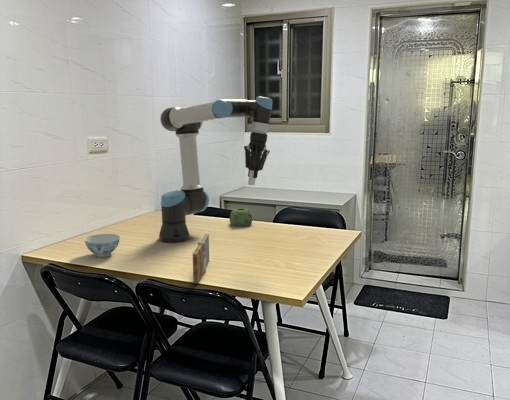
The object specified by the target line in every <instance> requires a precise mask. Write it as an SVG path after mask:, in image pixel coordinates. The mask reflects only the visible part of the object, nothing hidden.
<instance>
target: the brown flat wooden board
mask: <svg viewBox="0 0 510 400" xmlns="http://www.w3.org/2000/svg"><path fill="white" fill-rule="evenodd" d="M205 257H206V243H205V242H201V241H199V242H197V247H196V248H195V249H194V251H193V252H192V275H193V278H192V279H193V281H192V282H193V284H194V285H195V284H196V285H197V284H199V282H200V280H201V278H202V277H203V274H205V273H204V268H203V258H205Z"/></svg>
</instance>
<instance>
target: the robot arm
mask: <svg viewBox="0 0 510 400" xmlns="http://www.w3.org/2000/svg"><path fill="white" fill-rule="evenodd" d="M272 111H273V99H272V98H269V97H266V96H256V98H255V100H251V99H250V100H248V99H244V98H237V99H226V98H224V99H222V98H220V99H217V100H215V101H212V102H207V103H202V104H201V103H200V104H197V105H192V106H187V107H186V106H185V107H184V106H183V107H182V106H181V107H173V106H172V107H167V108H165V109H164V110H163V111H162V112H161V114H160V118H159V119H160V120H159V121H160V125H162V127H163V128H164V130H166V131H168V132H169V131H170V132H175V136H176V137H177V138H178V141H179V143H178V144H179V150H180V154H179V155H180V163H181V172H182V174H181V175H182V186H181V187H180V190H174V191H173V190H171V191H167V192H165V193H163V194H162V195H161V198H160V199H161V201H160V206H161V227H160V230H159V234H158V240H159V241H160V242H164V243H180V242H185V241H188V240H189V239H190V235H191V234H190V232H189V229H188V226H187V223H186V220H187V219H186V218H187V216H189V215H194V214H199V213H201V212H204V211H205V210H206V209H207V208H208V206H209V203H210V197H209V194H208V192H207V191H206V190H205V189H204V186H203V184H201V181H200V172H199V171H200V170H199V167H200V166H199V156H198V145H197V136H198V135H199V134H200V133H199V130H200V129H201V128H202V125H203V122H207V121H213V120H219V119H225V118H251V119H252V122H251V123H252V124H251V129H250V130H251V132H250V136H249V143H248V144H247V145H244V146H243V148H244V162H245V164H244V165H245V168H247V169H248V173H247V177H248V181H247V185H249V186H255V185H256V179H257V178H258V173H259V172H261V171H263V169H264V166H265V163H266V161H267V157H268V155H269V154H270V153H271V151H270V150H269V149H268V148H267V145H266V144H267V141H268V140H267V139H268V133H269V128H270V120H271V116H272Z"/></svg>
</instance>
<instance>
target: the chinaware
mask: <svg viewBox="0 0 510 400" xmlns="http://www.w3.org/2000/svg"><path fill="white" fill-rule="evenodd" d="M120 240H121V236H120V235H119V234H116V233H96V234H93V235H89V236H87V237H85V238H84V244H85V246H86V247H87V249H88V250H89V251H90V252H91V253H93V254H94V255H95V257H97V258H98V257H99V258H105V257H109V256H112V253H113V252H114V251H115V250H116V249H117V248H118V246H119V243H120Z"/></svg>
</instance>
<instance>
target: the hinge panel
mask: <svg viewBox="0 0 510 400" xmlns="http://www.w3.org/2000/svg"><path fill="white" fill-rule="evenodd" d="M200 242H205V243H206V257H205V258H203V268H204V273H203V274H206V273H207V267H208V266H209V265H208V264H209V262H210V234H209V233H204V234H203V236H202V239H201V240H200ZM205 272H206V273H205Z"/></svg>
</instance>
